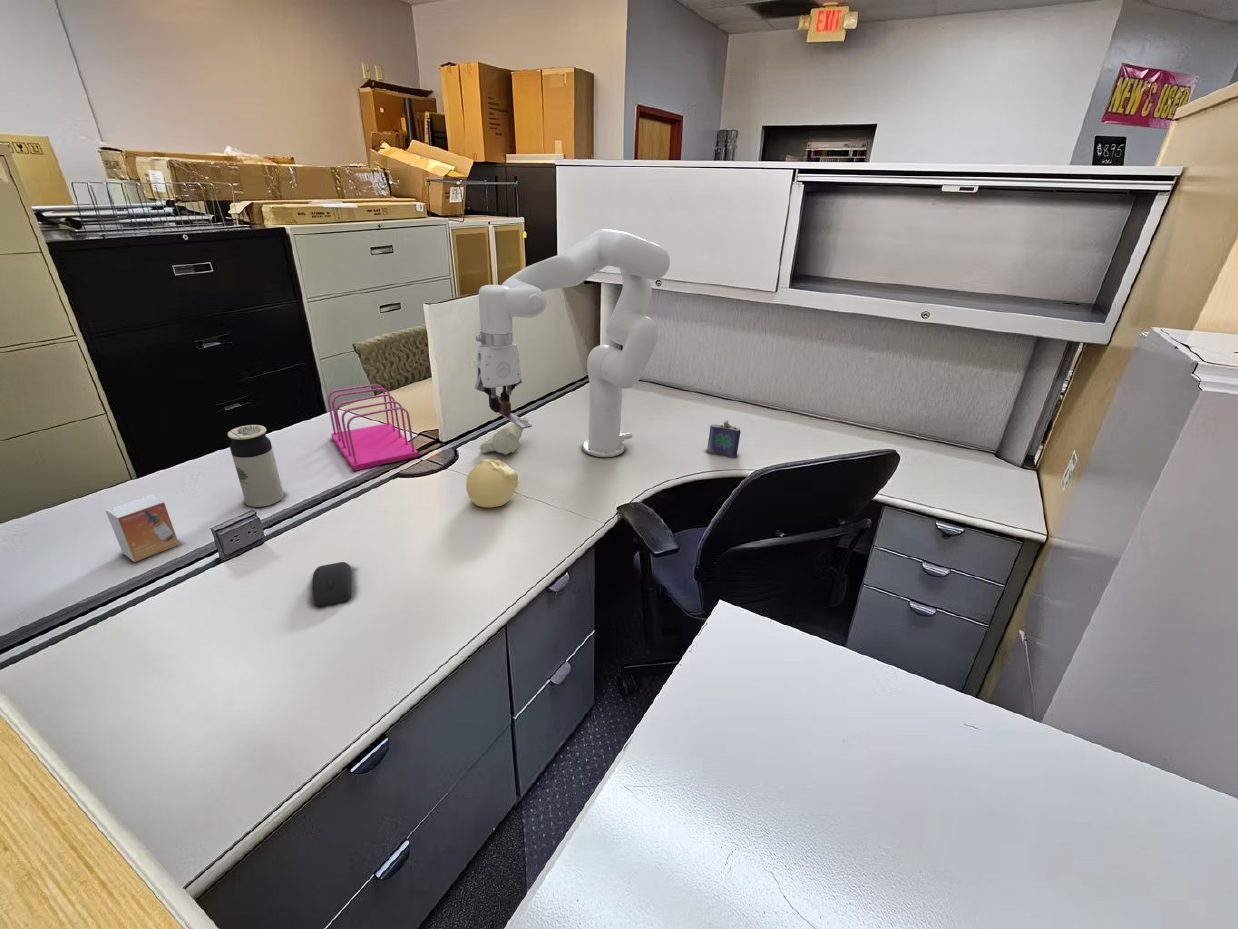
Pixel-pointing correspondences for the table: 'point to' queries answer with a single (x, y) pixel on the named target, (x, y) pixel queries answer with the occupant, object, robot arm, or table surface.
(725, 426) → the flask
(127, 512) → the small box
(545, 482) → the table surface
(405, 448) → the file sorter
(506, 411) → the knife
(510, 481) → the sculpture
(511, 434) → the white jagged rock
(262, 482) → the travel mug
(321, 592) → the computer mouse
